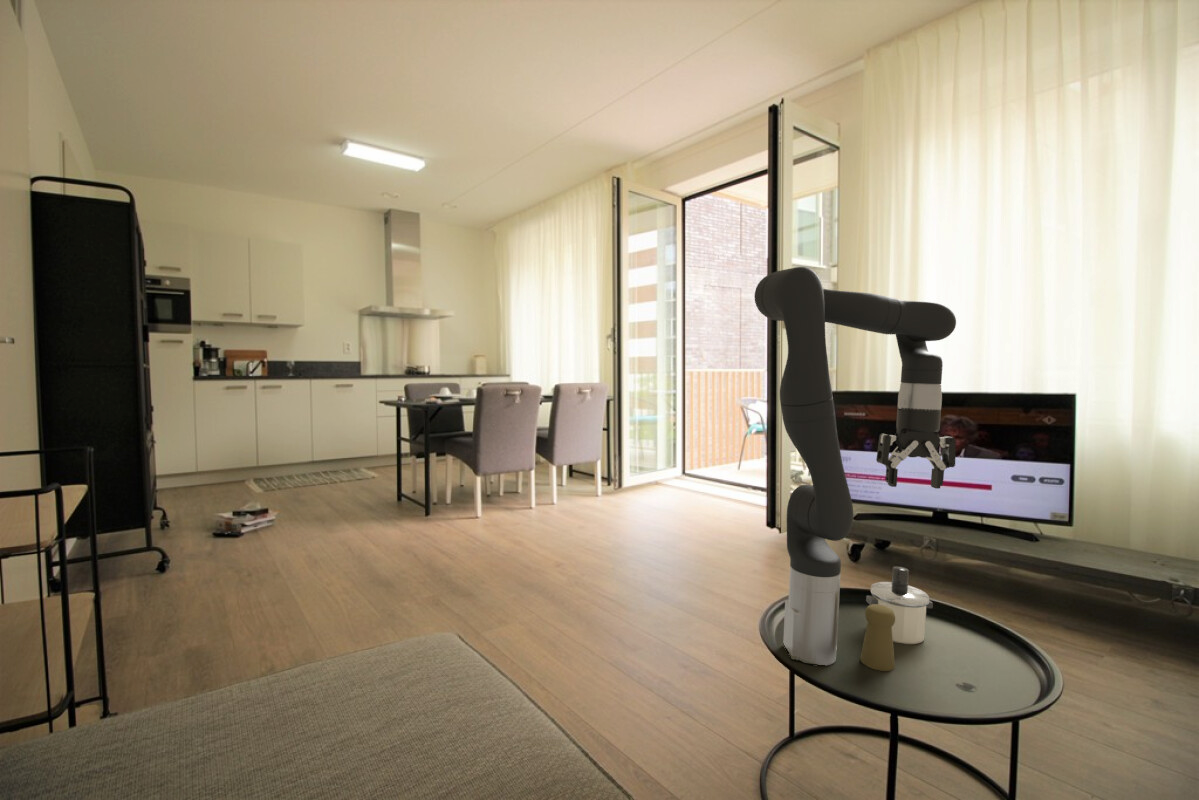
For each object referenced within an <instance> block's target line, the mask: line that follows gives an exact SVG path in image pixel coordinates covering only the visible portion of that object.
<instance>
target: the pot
mask: <svg viewBox="0 0 1199 800" xmlns="http://www.w3.org/2000/svg"><path fill="white" fill-rule="evenodd" d="M865 598H866V599H865V601H866V602H867V604H869V605H872V604H879V605H884V606H886V607H888V608H890V609H891V610H893V612H894V614H895V623H894V625H893V626H892V638H893V643H898V644H903V645H919V644H921V643H923V642H924V641H925V635H926V634H925V632H926V618H927V609H933V606H934V603H933V602H932V601H931V600H930V599H929V604H928V605H927V606H924V607H903V606H898V605H894V604H890V603H887V602H884V601H882V600H880V599H878V598H876V597H875V596H873V595H866V597H865Z"/></svg>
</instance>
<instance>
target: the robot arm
mask: <svg viewBox="0 0 1199 800" xmlns="http://www.w3.org/2000/svg"><path fill="white" fill-rule="evenodd" d="M753 296H754V303H755V306H756V308H757V310H758V312H760V314H761V315H762V316H764V317H766V318H768V319H770V320H772V321H777V322H780V321H781V322H783V324H784V327H785V333H786V334H785V335H786V340H787V358H786V363H785V365H784V366H785V367H784V370H783V374H782V377H781V382H780V386H779V402H780V411H781V414H782V422H783V425H784V426H783V427H784V429H785V432H786V433H787V436H788V437H789V439H790V441H791V443H792V444H793V446H794V447H795V449H796V450H797V452H798V454H799V455H800V457H801V458H802V460H803V462H804V463H805V465H806V467H807V469H808V472H809V475H810V479H811V483H812V484H802V485H799V486H797V487H796V488H795V489H794V490H793V491H792V492H791V494H790V497H789V500H788V502H787V507H786V549H787V553H788V556H789V558H790V559H789V560H790V561H789V563H790V564H789V565H790V566H789V579H788V580H789V585H788V599H785V601H784V616H783V617H784V621H783V622H784V623H783V642H782V644H783V643H784V645H785V647H786V648H787V649H788V651H789V652H790V653H791V655H792V656H797V657H800V658H801V659H804V660H806V661H809V662H812V663H815V664H818V665H825V666H830V665H832V664H834V663H835V662H836V660H837V650H838V630H839V629H838V628H839V611H840V610H839V609H840V608H839V607H840V588H841V571H842V570H841V569H842V561H841V558H840V556H839V554H838V553H836V552H835V551H834V550H833V549H832V548H831V547H830V546H829V544H828V542H827V541H835V542H836V541H838V542H839V541H841V540H843V539H845V538H846V537H847V536H848V535H849V534H850V532H851V529H852V526H853V523H854V507H853V501H852V497H851V492H850V488H849V485H848V480H847V477H846V473H845V469H844V465H843V459H842V453H841V448H840V447H841V446H840V441H839V438H838V437H839V436H838V435H839V434H838V430H837V428H838V427H837V418H836V411H835V410H836V409H835V402H834V397H833V390H832V384H831V379H830V377H831V376H830V370H829V360H828V359H829V358H828V353H827V345H826V344H827V342H826V323H829V324H835V325H838V326H844V327H847V328H852V329H853V328H854V329H858V330H861V331H862V330H863V331H867V332H872V333H877V334H883V335H895V337H896V338H895V339H896V343H897V348H898V352H899V355H900V360H901V371H900V372H901V373H900V386H899V391H898V395H897V411H896V412H897V413H896V423H895V424H896V426H895V427H896V432H895V434H894V435H893V434H886V433H880V434H879V437H878V444H877V453H876V463H878V464H881V465H884V466H885V469H886V470H885V482H886V483H887V486H889V487H892V488H893V487H894V488H897V485H898V468H897V467H898V466H899V465H900V464H901V462H902V461H905V460H906V459H907V457H909V458H922V459H927V460H928V461H929V463H930V464H931V466H932V467H933V468H931V474H930V475H931V476H930V478H931V479H930V486H931V488H934V489H937V490H938V489H940V488H941V487H942V486H943V485H944V475H945V470H946V469H949V468H954V467H955V466H956V438H955V437H952V436H948V435H944V436H941V437H940V435H939V432H940V428H941V416H942V415H941V413H942V412H941V411H942V404H943V403H942V402H943V394H942V393H943V392H942V379H943V378H942V377H943V376H942V375H943V366H944V365H943V359H942V357H941V356H940V355H939V354H936V353H935V354H934V353H931V352H929V350H928V346H927V342H936V341H937V342H938V341H941V340H944V339H946V338H948V337H949V336H950V335H952V333H953V332H954V331H955V328H956V325H957V320H956V319H957V317H956V315H955V314H954V311H952V309H951V308H949V307H948V306H946V305H944V304H942V303H938V302H937V303H936V302H930V301H918V300H917V301H916V300H904V299H903V300H902V299H899V298H895V297H892V296H886V295H883V294H879V293H878V294H877V293H872V292H871V293H870V292H859V291H851V290H850V291H848V290H847V291H846V290H837V289H836V290H835V289H826V288H824V287H823V283H822V281H821V279H820V277H819V276H818V274H817V273H816V272H815V271H814V270H813V269H811V268H809V267H806V266H797V267H792V268H786V269H781V270H777V271H774V272H771V273H769V274H767V275H765V276H764V277H763V278H761V279H760V281H759V282H758V284H757V285H756V288H755V291H754V295H753ZM893 443H895V444H896V445H897V446H896V447H895V448H894V450H893V451H892V452H891V455H890V451H891V450H890V449H891V446H893ZM939 445H940V447H941V448H942V449H941V455H940V454H939V452H938V450H937V449H936V448H937V447H938V446H939ZM826 540H827V541H826ZM785 647H784V648H785Z"/></svg>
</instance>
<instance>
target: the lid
mask: <svg viewBox="0 0 1199 800" xmlns="http://www.w3.org/2000/svg"><path fill="white" fill-rule="evenodd" d="M909 572H910V570H909V569H908V568H906V567H903V566H893V567H892V577H891V578H892V579H891V580H892V581H879V582H878V581H877V582H874V583H873V584H871V585H870V593H871V596H875V597H876V598H878V599H880V600H882V601H884V602H887V603H890V604H894V605H898V606H903V607H924V606H927V605H928V604H929V600H930V596H929V594H927V593H926V592H925V591H924V590H921V589H920V588H917V587H915V586H911V585H909Z"/></svg>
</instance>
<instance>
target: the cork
mask: <svg viewBox="0 0 1199 800" xmlns="http://www.w3.org/2000/svg"><path fill="white" fill-rule="evenodd" d="M864 615H865V620H866V622H867V624H866V629H865V633H864V638H863V642H862V647H861V653H860V658H859V661H860V662H861V663H862V664H863V665H864V666H866V667H868V668H870V669H873V670H876V671H881V672H891V671H893V670H895V669H896V661H895V652H894V651H895V650H894V642H893V638H892V626H893V625H894V623H895V614H894V612H893V610H891V609H890V608H888V607H886V606H884V605H879V604H872V605H870V604H869V605H868V606H867V607H866V608H865V611H864Z"/></svg>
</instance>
